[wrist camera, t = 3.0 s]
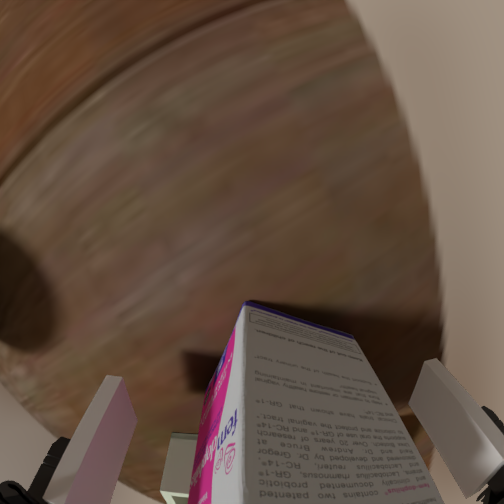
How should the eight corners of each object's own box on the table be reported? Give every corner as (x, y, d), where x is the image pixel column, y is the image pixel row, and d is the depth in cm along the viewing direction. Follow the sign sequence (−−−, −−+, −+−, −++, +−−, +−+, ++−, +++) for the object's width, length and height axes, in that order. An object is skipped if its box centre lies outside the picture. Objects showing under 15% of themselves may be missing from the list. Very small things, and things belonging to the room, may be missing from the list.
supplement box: (239, 295, 12) (243, 611, 1) (354, 333, 13) (476, 539, 2) (199, 389, 14) (172, 603, 3) (301, 414, 14) (343, 596, 3)
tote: (172, 432, 14) (159, 490, 10) (379, 418, 15) (403, 468, 11) (196, 501, 17) (193, 541, 13) (344, 491, 18) (355, 529, 13)
